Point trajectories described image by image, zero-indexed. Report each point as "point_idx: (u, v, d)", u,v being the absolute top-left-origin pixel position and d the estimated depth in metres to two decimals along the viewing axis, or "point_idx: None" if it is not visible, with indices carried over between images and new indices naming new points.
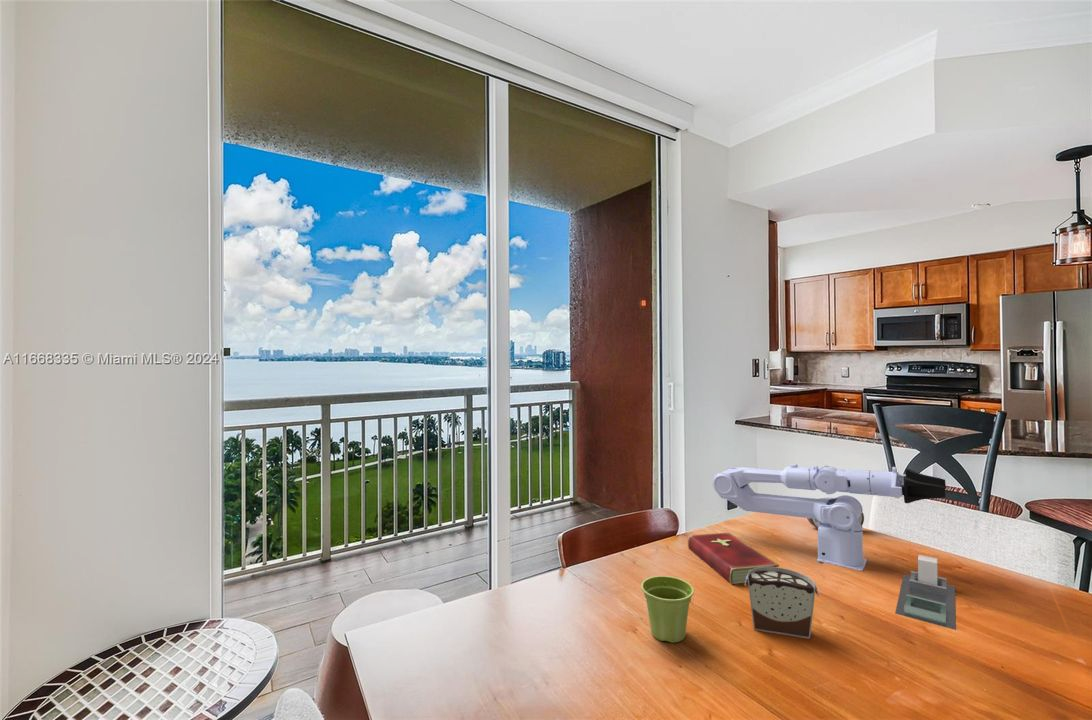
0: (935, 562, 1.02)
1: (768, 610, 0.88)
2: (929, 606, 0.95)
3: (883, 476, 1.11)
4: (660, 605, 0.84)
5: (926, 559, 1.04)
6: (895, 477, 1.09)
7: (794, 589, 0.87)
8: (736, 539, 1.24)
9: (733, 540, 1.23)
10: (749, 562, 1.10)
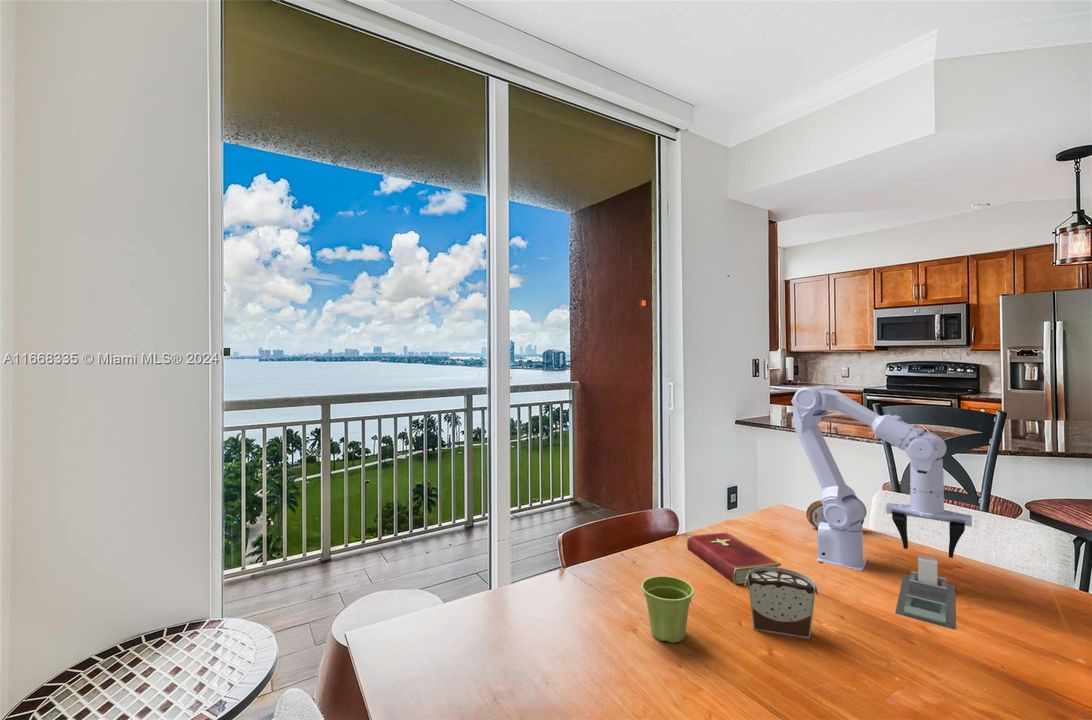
0: (935, 562, 1.02)
1: (768, 610, 0.88)
2: (929, 606, 0.95)
3: (914, 502, 1.04)
4: (660, 605, 0.84)
5: (926, 559, 1.04)
6: (911, 512, 1.04)
7: (794, 589, 0.87)
8: (735, 539, 1.24)
9: (732, 540, 1.24)
10: (751, 562, 1.10)
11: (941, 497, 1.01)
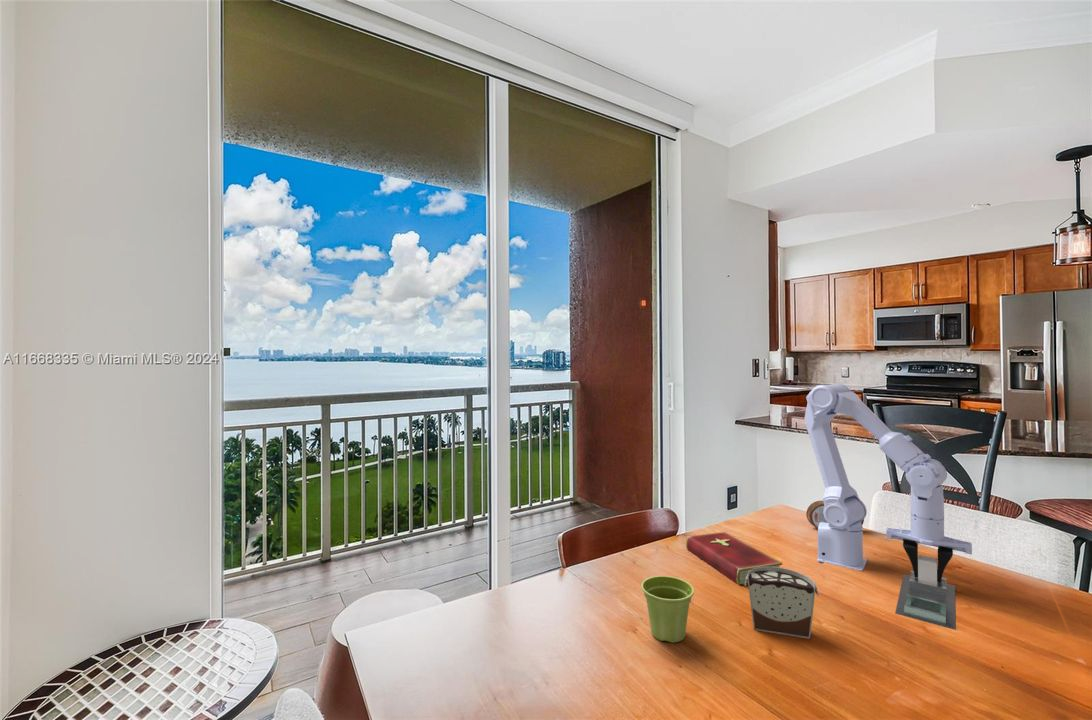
0: (935, 562, 1.02)
1: (768, 610, 0.88)
2: (929, 606, 0.95)
3: (915, 528, 1.04)
4: (660, 605, 0.84)
5: (926, 559, 1.04)
6: (911, 539, 1.04)
7: (794, 589, 0.87)
8: (734, 538, 1.25)
9: (731, 540, 1.24)
10: (753, 562, 1.10)
11: (941, 524, 1.01)
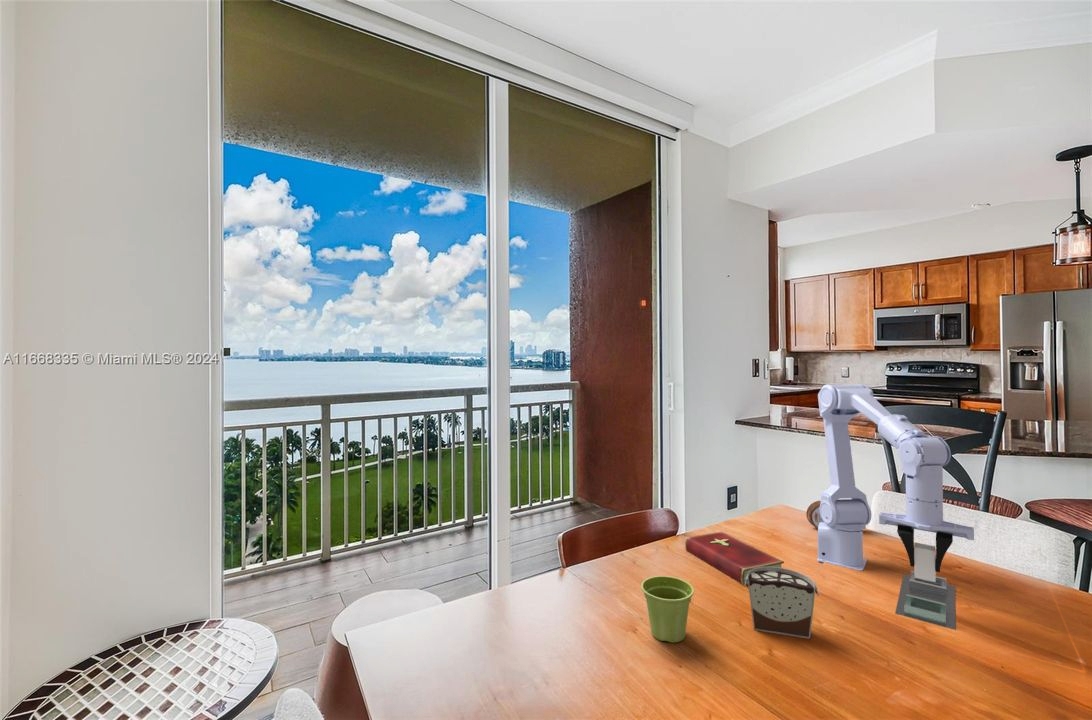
0: (933, 550, 0.92)
1: (768, 610, 0.88)
2: (929, 606, 0.95)
3: (910, 512, 0.93)
4: (660, 605, 0.84)
5: (923, 547, 0.94)
6: (906, 524, 0.93)
7: (794, 589, 0.87)
8: (732, 538, 1.25)
9: (730, 539, 1.24)
10: (756, 561, 1.11)
11: (940, 507, 0.91)
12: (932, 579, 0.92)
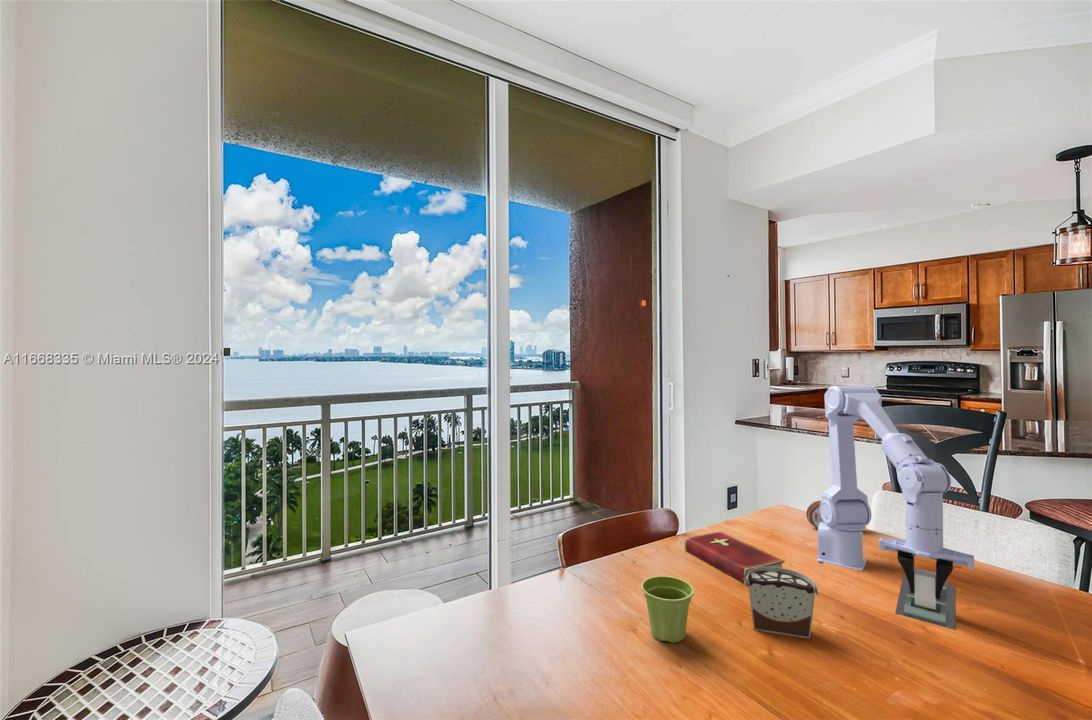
0: (933, 577, 0.92)
1: (768, 610, 0.88)
2: None
3: (910, 539, 0.93)
4: (660, 606, 0.84)
5: (923, 573, 0.93)
6: (906, 550, 0.93)
7: (794, 589, 0.87)
8: (731, 538, 1.25)
9: (729, 539, 1.24)
10: (757, 561, 1.11)
11: (940, 534, 0.91)
12: (932, 606, 0.92)
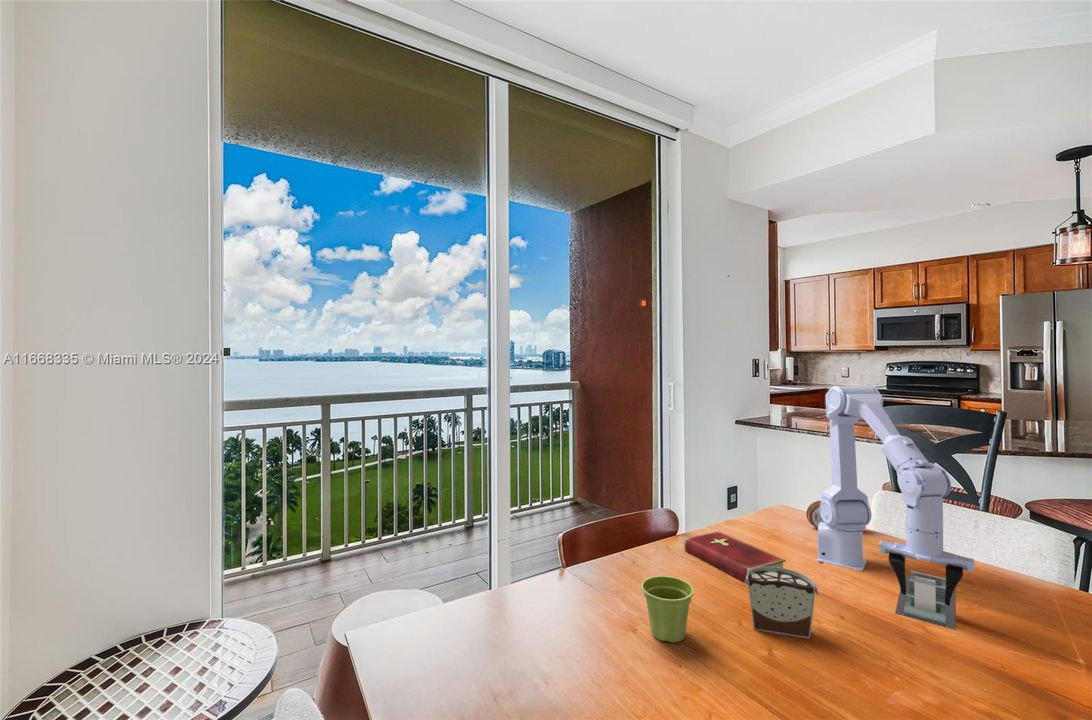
0: (933, 585, 0.92)
1: (768, 610, 0.88)
2: None
3: (910, 542, 0.93)
4: (660, 605, 0.84)
5: (923, 581, 0.93)
6: (906, 554, 0.93)
7: (794, 589, 0.87)
8: (730, 537, 1.25)
9: (729, 539, 1.24)
10: (759, 560, 1.11)
11: (940, 538, 0.91)
12: None
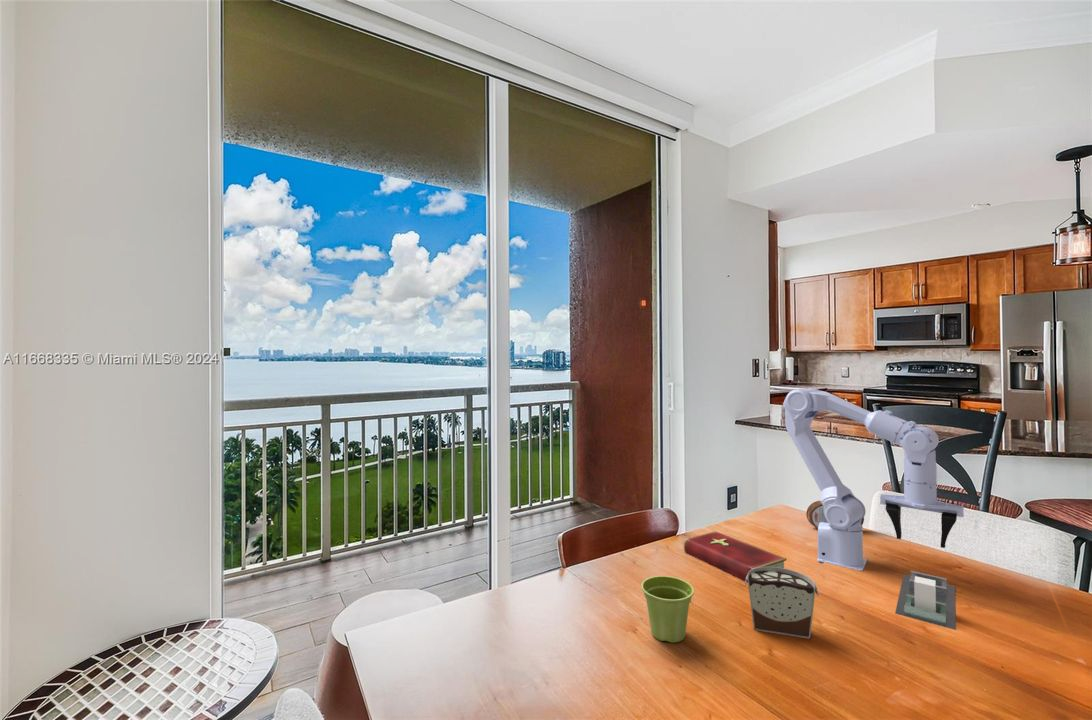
0: (933, 585, 0.92)
1: (768, 610, 0.88)
2: None
3: (908, 493, 1.06)
4: (660, 605, 0.84)
5: (923, 581, 0.93)
6: (904, 503, 1.06)
7: (794, 589, 0.87)
8: (728, 537, 1.26)
9: (727, 539, 1.24)
10: (761, 560, 1.11)
11: (934, 488, 1.03)
12: None
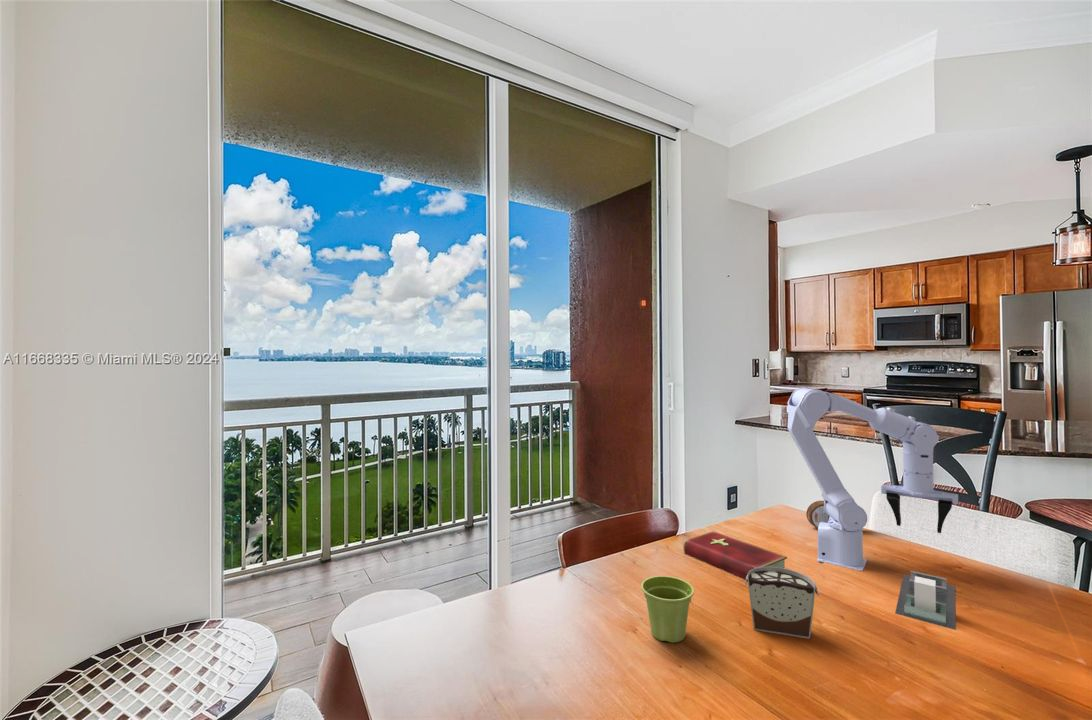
0: (933, 585, 0.92)
1: (768, 610, 0.88)
2: None
3: (907, 483, 1.14)
4: (660, 605, 0.84)
5: (923, 581, 0.93)
6: (903, 492, 1.15)
7: (794, 589, 0.87)
8: (727, 537, 1.26)
9: (726, 539, 1.25)
10: (763, 559, 1.12)
11: (931, 478, 1.12)
12: None
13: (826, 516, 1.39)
